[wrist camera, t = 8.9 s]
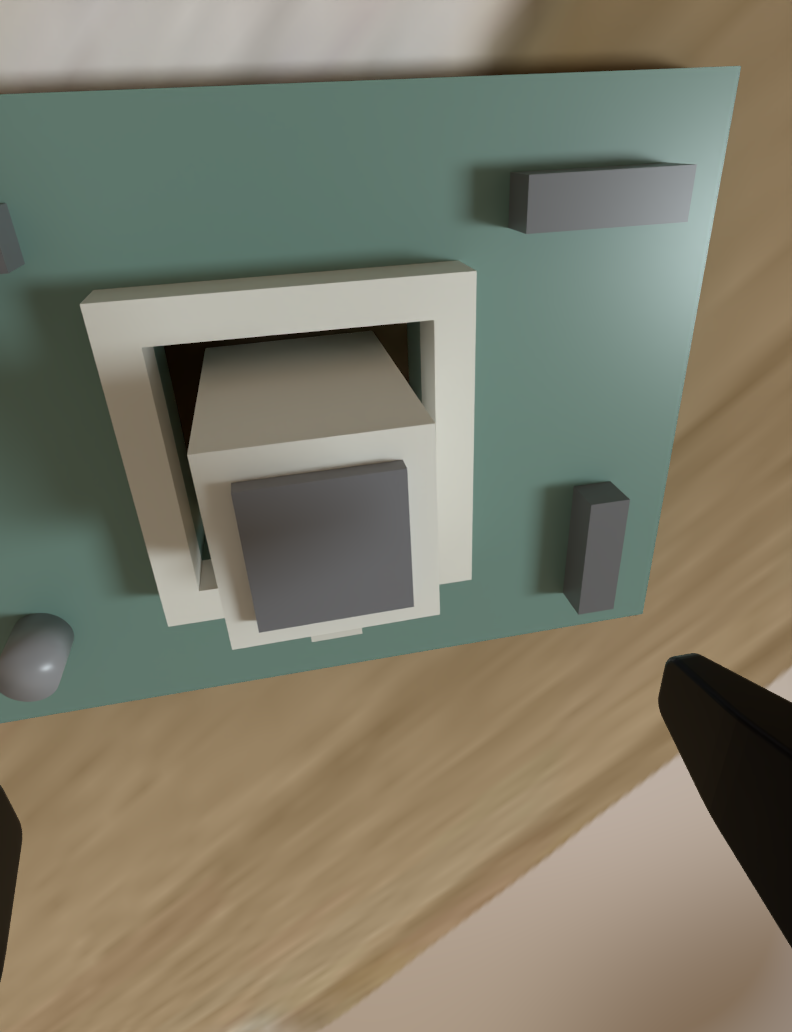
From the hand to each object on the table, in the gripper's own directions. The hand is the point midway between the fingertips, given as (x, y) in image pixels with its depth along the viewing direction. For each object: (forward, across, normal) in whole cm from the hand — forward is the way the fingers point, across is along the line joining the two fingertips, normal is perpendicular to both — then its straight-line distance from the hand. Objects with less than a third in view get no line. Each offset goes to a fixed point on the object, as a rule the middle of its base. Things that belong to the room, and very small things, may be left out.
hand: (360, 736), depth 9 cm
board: (+12, 0, 0) cm, 12 cm away
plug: (+12, 0, 0) cm, 12 cm away
